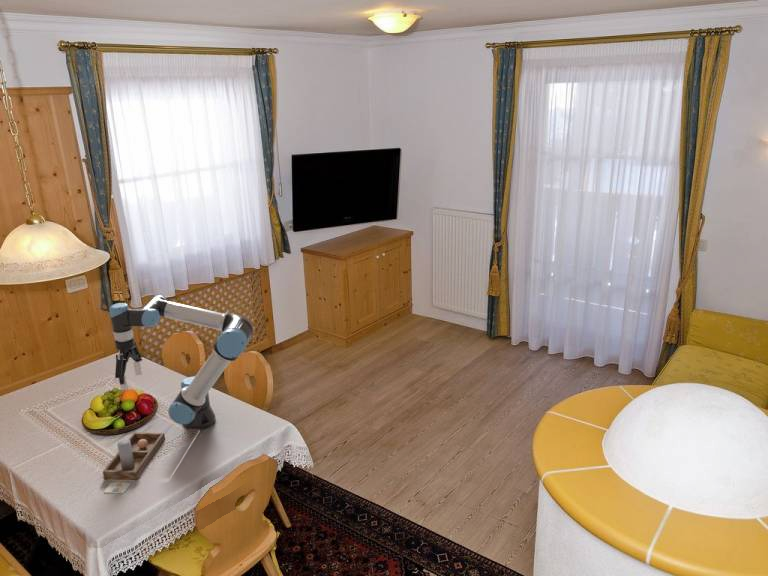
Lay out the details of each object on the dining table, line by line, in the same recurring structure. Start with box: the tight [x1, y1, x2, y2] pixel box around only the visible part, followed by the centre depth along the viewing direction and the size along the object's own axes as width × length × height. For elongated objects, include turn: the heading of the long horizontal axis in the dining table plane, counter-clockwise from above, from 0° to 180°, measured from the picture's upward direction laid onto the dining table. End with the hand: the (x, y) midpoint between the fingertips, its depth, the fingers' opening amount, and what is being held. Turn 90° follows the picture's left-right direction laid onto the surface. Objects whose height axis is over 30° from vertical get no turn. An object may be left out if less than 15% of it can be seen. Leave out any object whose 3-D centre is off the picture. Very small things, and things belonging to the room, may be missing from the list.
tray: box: [102, 432, 166, 482], centre depth 252 cm, size 14×28×4 cm, turn 177°
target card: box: [103, 481, 131, 495], centre depth 234 cm, size 8×6×1 cm
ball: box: [138, 439, 147, 448], centre depth 258 cm, size 4×4×4 cm
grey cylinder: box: [117, 439, 135, 471], centre depth 243 cm, size 5×5×12 cm
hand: (131, 382), depth 258 cm, fingers open, 13 cm apart
